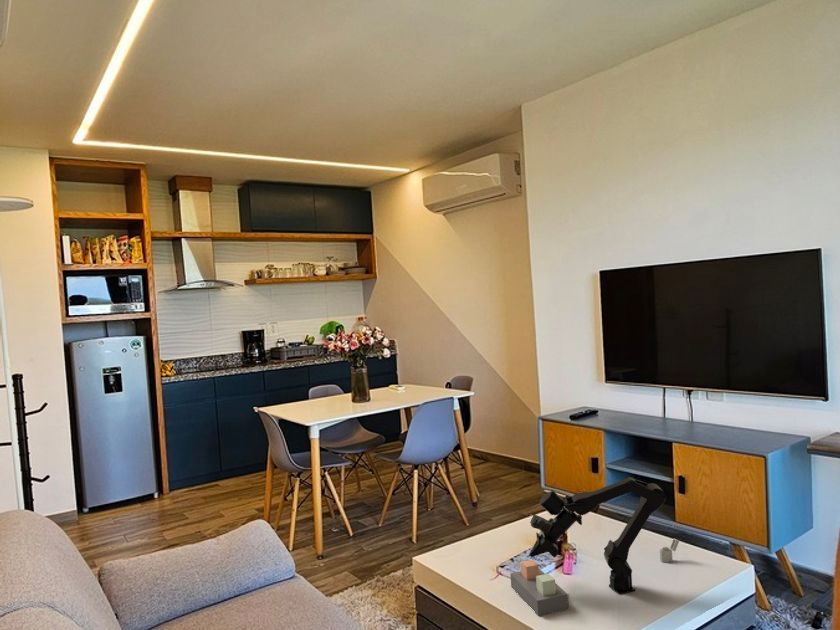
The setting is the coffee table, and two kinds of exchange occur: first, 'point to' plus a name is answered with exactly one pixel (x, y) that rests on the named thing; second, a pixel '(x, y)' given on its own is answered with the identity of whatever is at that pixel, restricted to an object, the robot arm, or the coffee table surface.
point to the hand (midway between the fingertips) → (530, 555)
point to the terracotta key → (529, 569)
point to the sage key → (545, 584)
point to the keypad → (539, 595)
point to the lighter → (668, 552)
